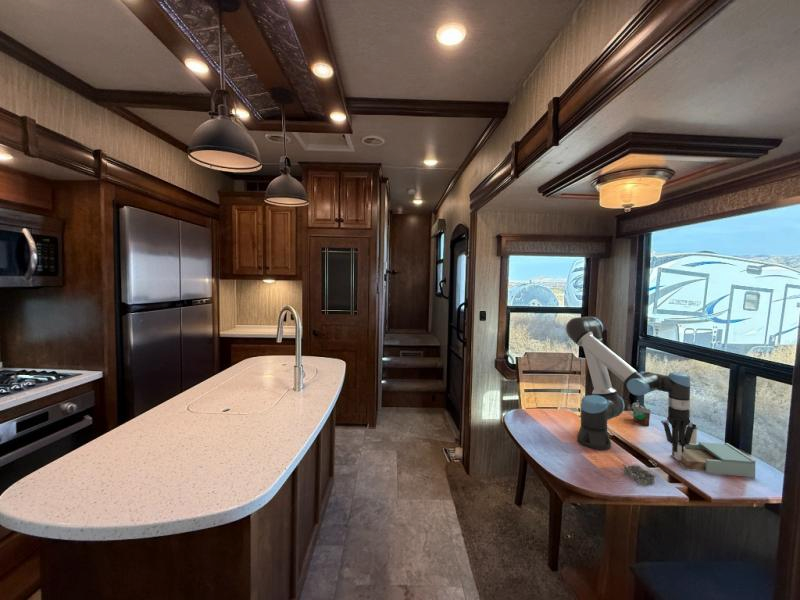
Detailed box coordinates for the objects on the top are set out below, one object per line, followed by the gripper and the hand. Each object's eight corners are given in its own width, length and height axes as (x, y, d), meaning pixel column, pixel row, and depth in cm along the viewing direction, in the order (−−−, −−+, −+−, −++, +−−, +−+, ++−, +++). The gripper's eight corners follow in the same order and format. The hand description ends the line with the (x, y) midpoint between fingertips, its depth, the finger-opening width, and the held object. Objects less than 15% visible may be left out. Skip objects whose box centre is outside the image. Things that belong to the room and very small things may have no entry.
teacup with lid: (702, 444, 170) (702, 421, 169) (685, 445, 169) (686, 422, 168) (679, 434, 182) (680, 412, 181) (664, 435, 181) (664, 413, 180)
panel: (687, 469, 148) (687, 460, 148) (671, 456, 160) (672, 447, 160) (736, 474, 144) (736, 465, 144) (717, 460, 156) (717, 451, 156)
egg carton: (620, 472, 146) (620, 463, 146) (635, 471, 148) (635, 461, 147) (641, 487, 136) (641, 476, 136) (657, 485, 137) (658, 475, 137)
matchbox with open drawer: (707, 472, 145) (707, 456, 145) (684, 454, 160) (684, 439, 160) (754, 477, 141) (755, 460, 141) (727, 457, 157) (727, 443, 156)
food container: (627, 418, 204) (627, 401, 203) (638, 418, 203) (638, 402, 203) (638, 426, 192) (638, 409, 191) (650, 427, 191) (650, 409, 190)
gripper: (666, 409, 151) (665, 461, 152) (701, 411, 148) (699, 464, 149) (658, 403, 158) (657, 453, 159) (690, 405, 155) (689, 455, 156)
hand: (677, 458), depth 154 cm, fingers closed
